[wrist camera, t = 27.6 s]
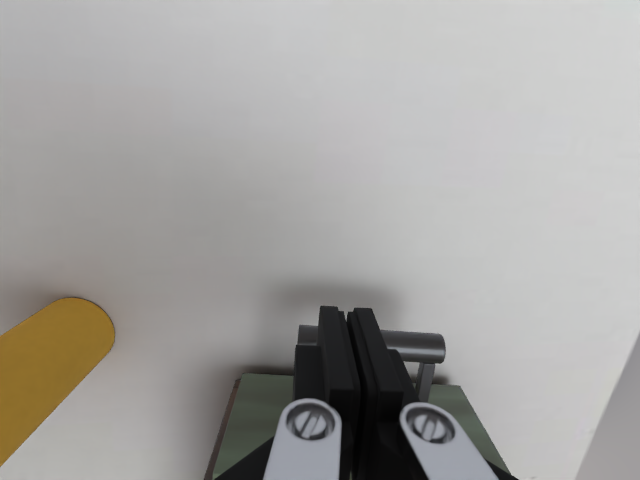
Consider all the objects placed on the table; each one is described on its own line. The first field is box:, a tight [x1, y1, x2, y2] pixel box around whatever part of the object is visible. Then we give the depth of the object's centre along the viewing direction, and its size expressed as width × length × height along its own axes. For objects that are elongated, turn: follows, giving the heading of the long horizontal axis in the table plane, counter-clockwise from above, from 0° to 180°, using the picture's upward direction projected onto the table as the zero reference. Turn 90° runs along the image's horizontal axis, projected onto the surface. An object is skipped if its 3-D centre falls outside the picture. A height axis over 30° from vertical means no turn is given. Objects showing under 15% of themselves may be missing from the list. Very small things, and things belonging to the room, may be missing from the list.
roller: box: [0, 298, 115, 467], centre depth 17 cm, size 4×4×10 cm
